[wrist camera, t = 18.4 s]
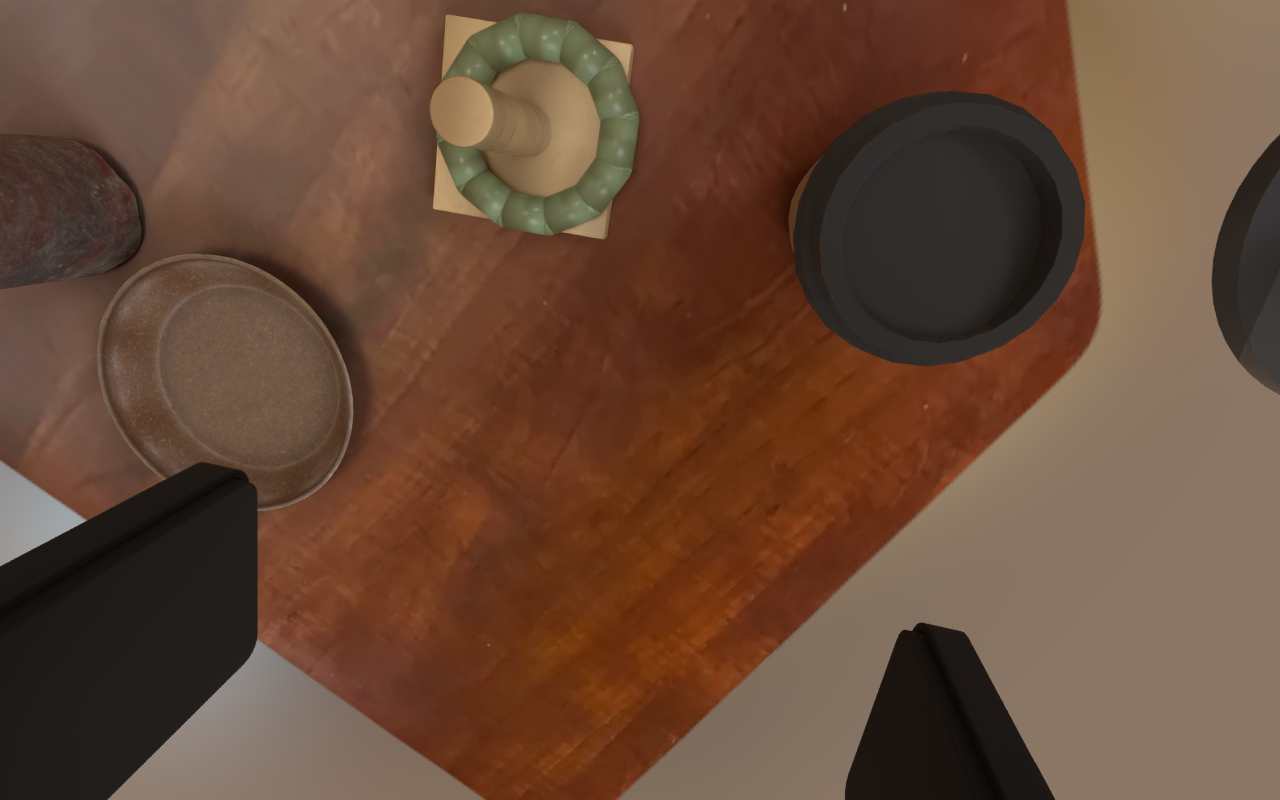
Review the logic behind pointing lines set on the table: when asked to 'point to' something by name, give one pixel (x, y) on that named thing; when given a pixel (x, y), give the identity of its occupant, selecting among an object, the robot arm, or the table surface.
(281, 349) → the saucer
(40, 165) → the brown rough vase
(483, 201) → the ring
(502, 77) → the post
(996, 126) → the coffee cup
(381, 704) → the table surface
